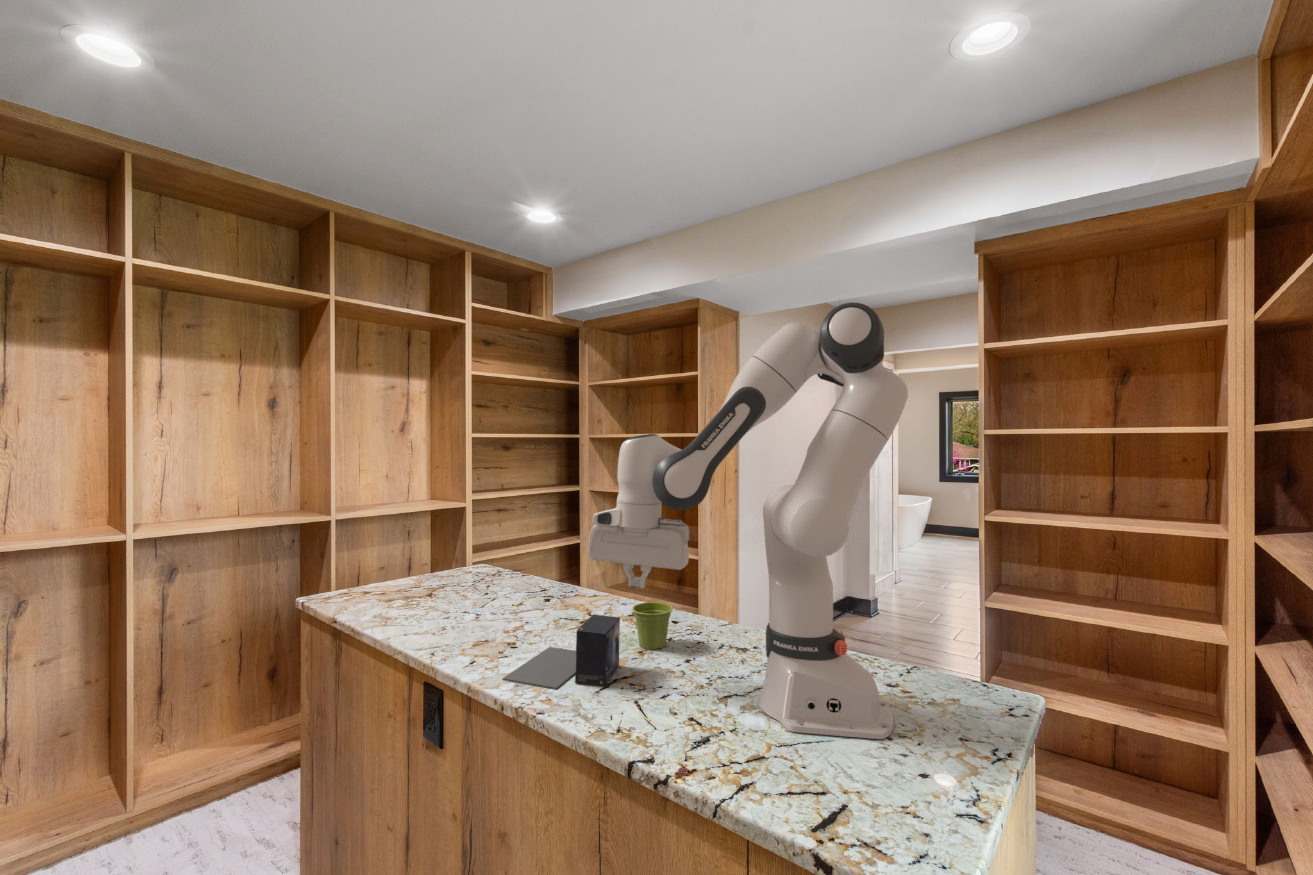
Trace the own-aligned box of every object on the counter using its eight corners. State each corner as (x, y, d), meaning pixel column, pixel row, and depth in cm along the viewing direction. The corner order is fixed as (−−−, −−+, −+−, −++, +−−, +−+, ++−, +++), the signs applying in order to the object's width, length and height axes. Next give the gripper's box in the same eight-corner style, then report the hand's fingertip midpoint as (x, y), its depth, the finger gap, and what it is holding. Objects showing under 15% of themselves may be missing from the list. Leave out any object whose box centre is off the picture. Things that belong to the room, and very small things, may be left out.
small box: (606, 687, 109) (606, 632, 109) (574, 684, 110) (574, 630, 110) (621, 665, 119) (621, 615, 119) (591, 663, 120) (591, 613, 120)
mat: (597, 655, 124) (597, 654, 124) (556, 689, 108) (556, 687, 108) (549, 648, 129) (549, 646, 129) (502, 679, 112) (502, 678, 112)
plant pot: (626, 650, 127) (626, 612, 127) (638, 636, 137) (638, 600, 137) (667, 654, 125) (667, 615, 125) (676, 640, 134) (676, 603, 134)
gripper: (694, 518, 111) (692, 589, 111) (599, 511, 118) (597, 577, 118) (684, 522, 105) (682, 597, 105) (585, 514, 112) (583, 584, 112)
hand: (636, 587), depth 112 cm, fingers closed
